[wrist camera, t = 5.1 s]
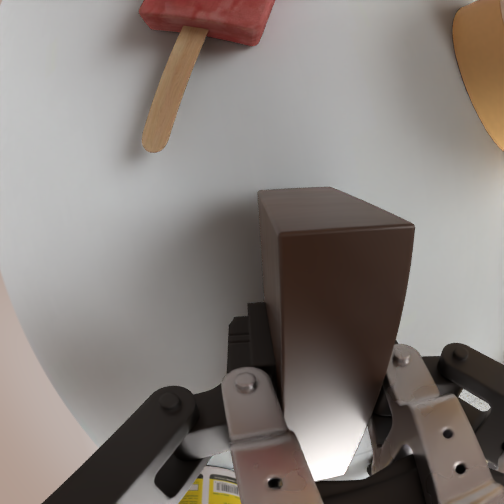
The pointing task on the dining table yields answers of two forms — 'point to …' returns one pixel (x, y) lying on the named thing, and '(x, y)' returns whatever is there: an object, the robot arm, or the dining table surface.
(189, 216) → the dining table surface
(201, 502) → the pill bottle
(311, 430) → the dark brown wooden block
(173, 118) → the popsicle
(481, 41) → the cake
